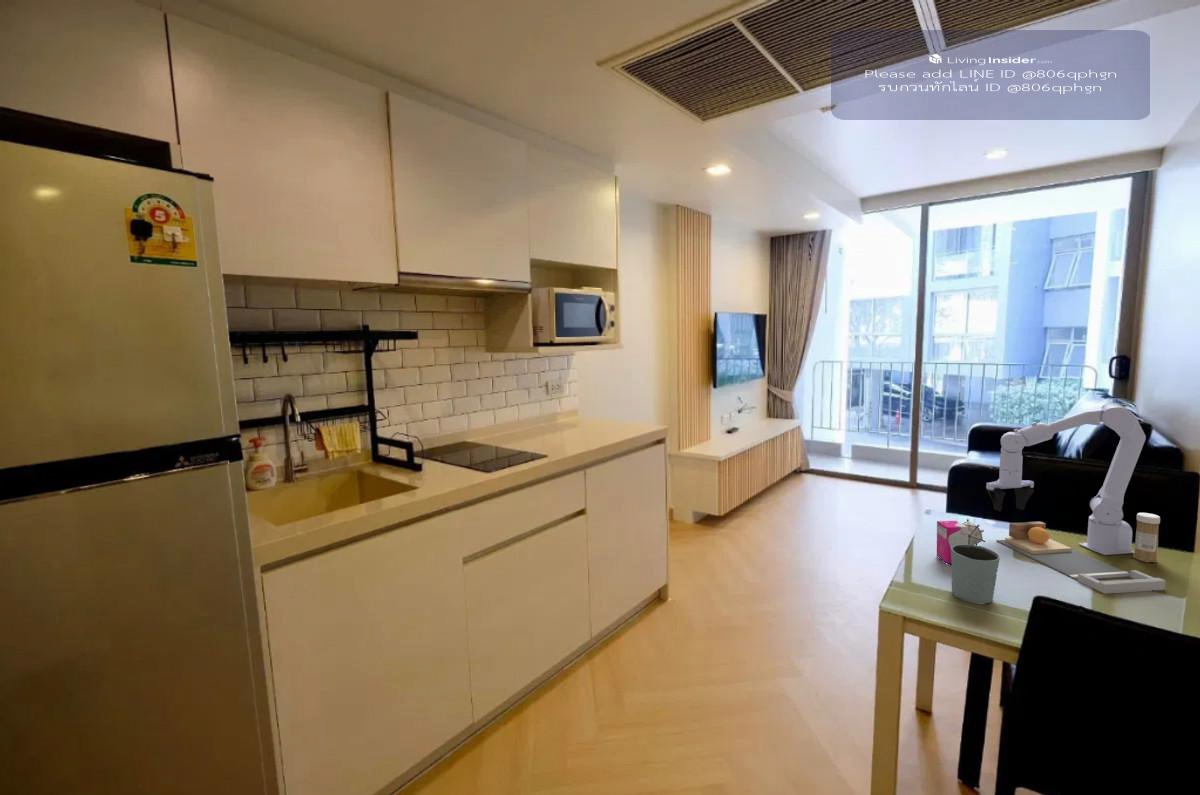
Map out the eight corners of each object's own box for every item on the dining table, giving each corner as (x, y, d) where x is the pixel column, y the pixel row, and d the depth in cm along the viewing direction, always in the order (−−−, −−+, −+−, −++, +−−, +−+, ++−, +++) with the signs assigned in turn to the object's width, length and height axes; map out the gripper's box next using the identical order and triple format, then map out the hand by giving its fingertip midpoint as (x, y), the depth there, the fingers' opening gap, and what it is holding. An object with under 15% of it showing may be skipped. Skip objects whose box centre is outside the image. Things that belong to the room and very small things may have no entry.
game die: (975, 558, 161) (998, 540, 155) (949, 550, 161) (972, 532, 155) (964, 535, 168) (986, 517, 162) (940, 527, 168) (961, 509, 162)
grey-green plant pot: (951, 583, 139) (953, 540, 138) (998, 593, 133) (1000, 549, 132) (947, 598, 132) (948, 554, 130) (997, 610, 125) (999, 563, 124)
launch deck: (1044, 538, 165) (1045, 530, 164) (1164, 589, 131) (1165, 580, 131) (996, 541, 164) (996, 533, 164) (1104, 593, 130) (1105, 584, 130)
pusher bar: (1039, 534, 163) (1040, 521, 163) (1045, 536, 161) (1045, 523, 161) (1008, 536, 163) (1009, 523, 162) (1014, 538, 161) (1014, 525, 160)
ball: (1038, 539, 161) (1039, 524, 160) (1053, 545, 156) (1054, 530, 155) (1023, 540, 160) (1023, 525, 160) (1037, 546, 155) (1038, 531, 155)
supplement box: (955, 556, 155) (957, 520, 154) (967, 565, 149) (969, 527, 148) (935, 556, 156) (936, 520, 154) (946, 565, 150) (947, 527, 148)
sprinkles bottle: (1158, 560, 146) (1162, 515, 145) (1154, 564, 144) (1158, 518, 142) (1135, 555, 150) (1139, 510, 149) (1131, 559, 148) (1134, 514, 146)
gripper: (1021, 464, 171) (1019, 504, 172) (979, 467, 170) (978, 506, 172) (1040, 470, 164) (1038, 511, 165) (997, 472, 163) (995, 514, 165)
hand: (1008, 509), depth 168 cm, fingers open, 7 cm apart
